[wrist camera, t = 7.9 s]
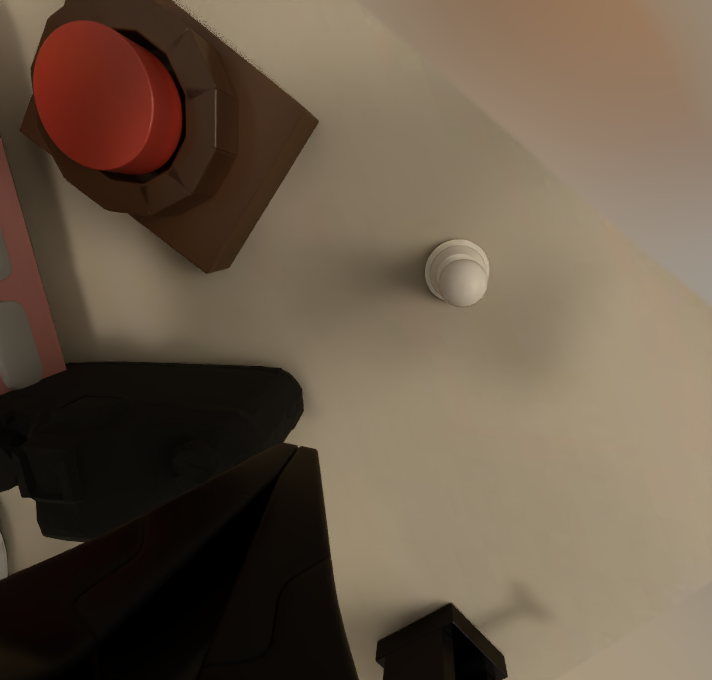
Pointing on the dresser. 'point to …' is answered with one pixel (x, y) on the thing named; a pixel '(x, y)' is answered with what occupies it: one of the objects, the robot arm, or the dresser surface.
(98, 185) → the button box
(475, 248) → the chess pawn
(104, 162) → the button
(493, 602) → the dresser surface
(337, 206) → the dresser surface
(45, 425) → the film camera
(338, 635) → the robot arm
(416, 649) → the bracket
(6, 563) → the boat shoe
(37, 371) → the alarm clock
